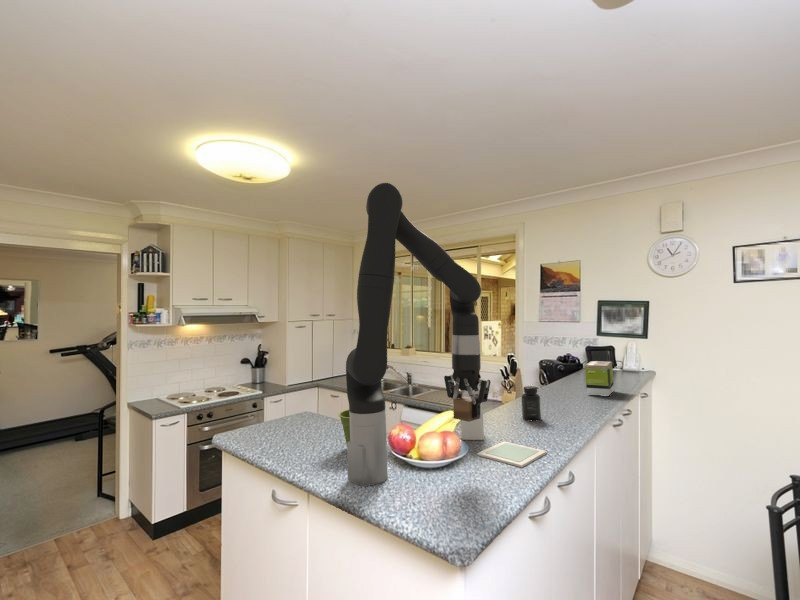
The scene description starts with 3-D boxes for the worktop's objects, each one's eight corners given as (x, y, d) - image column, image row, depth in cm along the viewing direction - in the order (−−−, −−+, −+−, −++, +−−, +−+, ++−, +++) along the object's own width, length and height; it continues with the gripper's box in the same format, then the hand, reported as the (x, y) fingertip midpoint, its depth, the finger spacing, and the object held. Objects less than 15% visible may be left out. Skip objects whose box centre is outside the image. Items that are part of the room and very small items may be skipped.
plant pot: (343, 443, 129) (342, 408, 130) (379, 442, 129) (378, 407, 130) (336, 456, 118) (335, 417, 118) (376, 455, 117) (374, 416, 118)
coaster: (521, 467, 104) (521, 464, 104) (477, 455, 114) (477, 452, 114) (546, 453, 114) (546, 450, 114) (503, 443, 124) (503, 440, 124)
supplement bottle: (545, 419, 149) (543, 387, 150) (533, 422, 146) (532, 389, 146) (530, 415, 155) (528, 384, 156) (518, 418, 151) (517, 387, 152)
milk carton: (483, 440, 127) (481, 381, 128) (461, 440, 128) (459, 381, 129) (483, 434, 134) (481, 377, 135) (462, 433, 135) (460, 377, 136)
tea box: (592, 390, 200) (590, 360, 201) (614, 391, 194) (612, 361, 195) (586, 395, 188) (584, 364, 189) (609, 397, 182) (608, 365, 183)
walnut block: (468, 421, 102) (468, 402, 102) (453, 418, 105) (453, 399, 106) (480, 418, 105) (480, 399, 105) (465, 415, 109) (464, 396, 109)
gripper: (436, 351, 109) (437, 414, 108) (479, 354, 98) (481, 424, 98) (453, 349, 114) (454, 409, 113) (496, 352, 103) (498, 418, 103)
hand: (467, 416), depth 105 cm, fingers closed on walnut block, 5 cm apart
